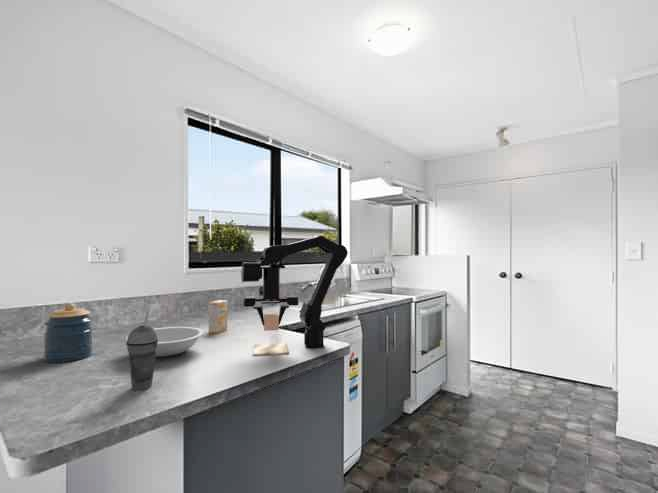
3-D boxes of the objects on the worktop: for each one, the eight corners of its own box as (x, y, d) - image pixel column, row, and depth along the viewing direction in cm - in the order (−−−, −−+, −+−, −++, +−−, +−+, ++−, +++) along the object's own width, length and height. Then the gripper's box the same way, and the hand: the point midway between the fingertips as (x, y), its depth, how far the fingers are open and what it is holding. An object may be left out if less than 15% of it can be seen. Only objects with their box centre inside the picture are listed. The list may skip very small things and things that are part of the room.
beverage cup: (133, 382, 94) (134, 306, 94) (162, 381, 94) (163, 306, 94) (119, 393, 86) (120, 311, 87) (150, 392, 87) (151, 310, 87)
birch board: (286, 344, 132) (286, 343, 132) (288, 354, 120) (289, 352, 120) (253, 346, 129) (253, 344, 129) (252, 355, 118) (252, 353, 118)
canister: (101, 353, 119) (102, 301, 119) (61, 365, 107) (62, 307, 107) (74, 350, 123) (75, 299, 124) (33, 360, 111) (34, 304, 111)
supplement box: (218, 333, 149) (218, 302, 149) (208, 333, 150) (208, 302, 150) (227, 329, 157) (228, 299, 157) (217, 328, 158) (218, 299, 158)
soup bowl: (107, 360, 112) (107, 339, 112) (165, 342, 135) (166, 324, 135) (166, 369, 104) (166, 346, 104) (218, 348, 127) (218, 329, 127)
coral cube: (278, 327, 128) (278, 313, 128) (278, 330, 123) (278, 315, 123) (264, 327, 127) (264, 313, 127) (264, 330, 122) (264, 316, 122)
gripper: (295, 279, 135) (295, 320, 134) (245, 279, 131) (245, 321, 131) (298, 281, 124) (298, 326, 123) (243, 282, 120) (243, 328, 120)
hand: (271, 325), depth 125 cm, fingers closed on coral cube, 5 cm apart
